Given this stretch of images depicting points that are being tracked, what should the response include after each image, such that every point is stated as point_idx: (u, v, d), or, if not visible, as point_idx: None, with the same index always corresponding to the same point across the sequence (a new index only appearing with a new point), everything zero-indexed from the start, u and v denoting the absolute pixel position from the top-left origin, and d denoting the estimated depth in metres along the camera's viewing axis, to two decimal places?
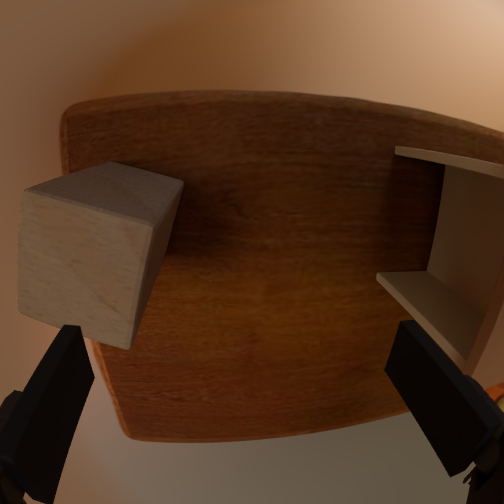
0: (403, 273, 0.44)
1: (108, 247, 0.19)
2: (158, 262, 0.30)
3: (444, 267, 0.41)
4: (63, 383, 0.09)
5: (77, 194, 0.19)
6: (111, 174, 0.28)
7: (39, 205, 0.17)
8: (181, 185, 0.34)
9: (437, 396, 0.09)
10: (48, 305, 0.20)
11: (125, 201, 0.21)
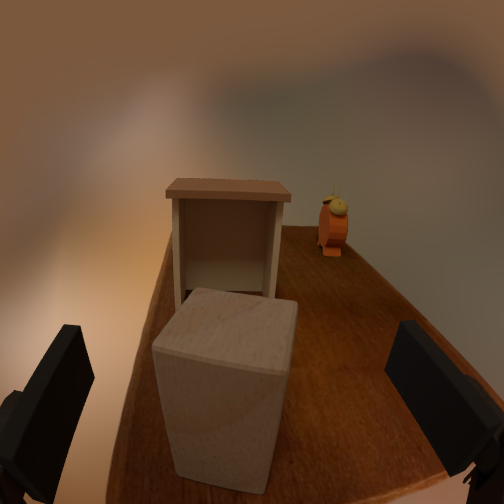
0: None
1: (208, 301, 0.28)
2: None
3: (252, 274, 0.71)
4: (63, 383, 0.09)
5: None
6: None
7: (168, 332, 0.23)
8: None
9: (437, 396, 0.09)
10: (267, 339, 0.23)
11: None
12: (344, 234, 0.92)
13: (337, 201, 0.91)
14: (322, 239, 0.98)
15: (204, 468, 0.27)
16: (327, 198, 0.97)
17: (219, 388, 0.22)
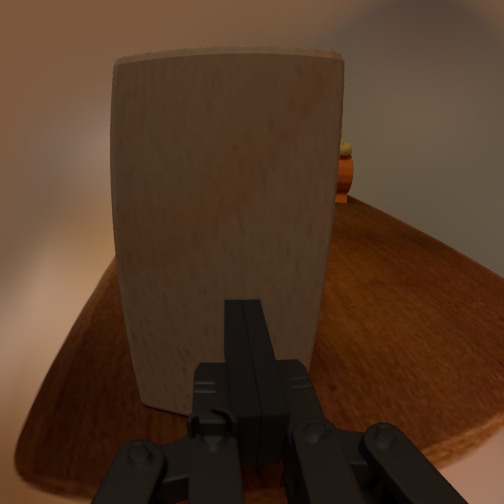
0: None
1: None
2: None
3: None
4: None
5: None
6: None
7: None
8: None
9: None
10: None
11: None
12: (350, 177, 0.82)
13: None
14: None
15: (187, 371, 0.16)
16: None
17: (221, 109, 0.12)
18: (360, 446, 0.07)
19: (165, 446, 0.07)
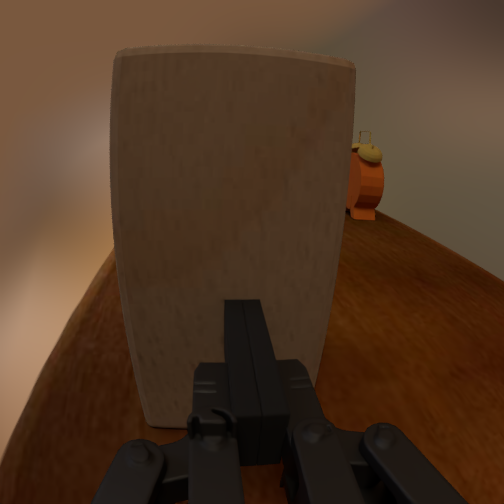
0: None
1: None
2: None
3: None
4: None
5: None
6: None
7: None
8: None
9: None
10: None
11: None
12: (380, 189, 0.66)
13: (368, 145, 0.65)
14: (349, 198, 0.71)
15: None
16: (352, 146, 0.71)
17: (242, 111, 0.11)
18: (361, 446, 0.07)
19: (165, 446, 0.07)
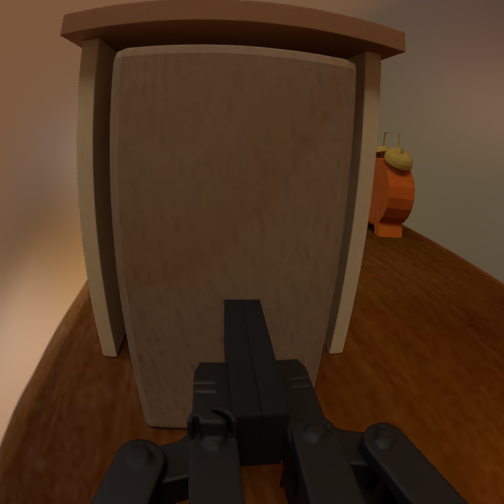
0: None
1: None
2: None
3: None
4: None
5: None
6: None
7: None
8: None
9: None
10: None
11: None
12: (410, 201, 0.54)
13: (397, 150, 0.53)
14: (373, 211, 0.60)
15: None
16: (376, 149, 0.59)
17: (242, 111, 0.11)
18: (361, 446, 0.07)
19: (165, 446, 0.07)
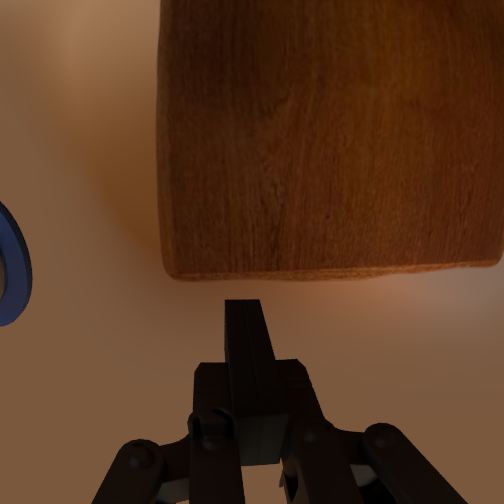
0: None
1: None
2: None
3: None
4: None
5: None
6: None
7: None
8: None
9: None
10: None
11: None
12: None
13: None
14: None
15: None
16: None
17: None
18: (360, 446, 0.07)
19: (166, 446, 0.07)
